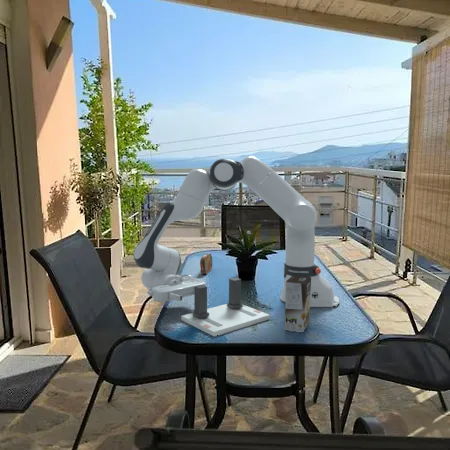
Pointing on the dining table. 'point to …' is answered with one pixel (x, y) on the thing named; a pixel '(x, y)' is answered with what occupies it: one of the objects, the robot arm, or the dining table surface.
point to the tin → (206, 263)
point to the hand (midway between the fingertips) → (192, 295)
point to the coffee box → (297, 303)
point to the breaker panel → (226, 319)
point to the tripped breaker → (200, 302)
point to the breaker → (234, 293)
